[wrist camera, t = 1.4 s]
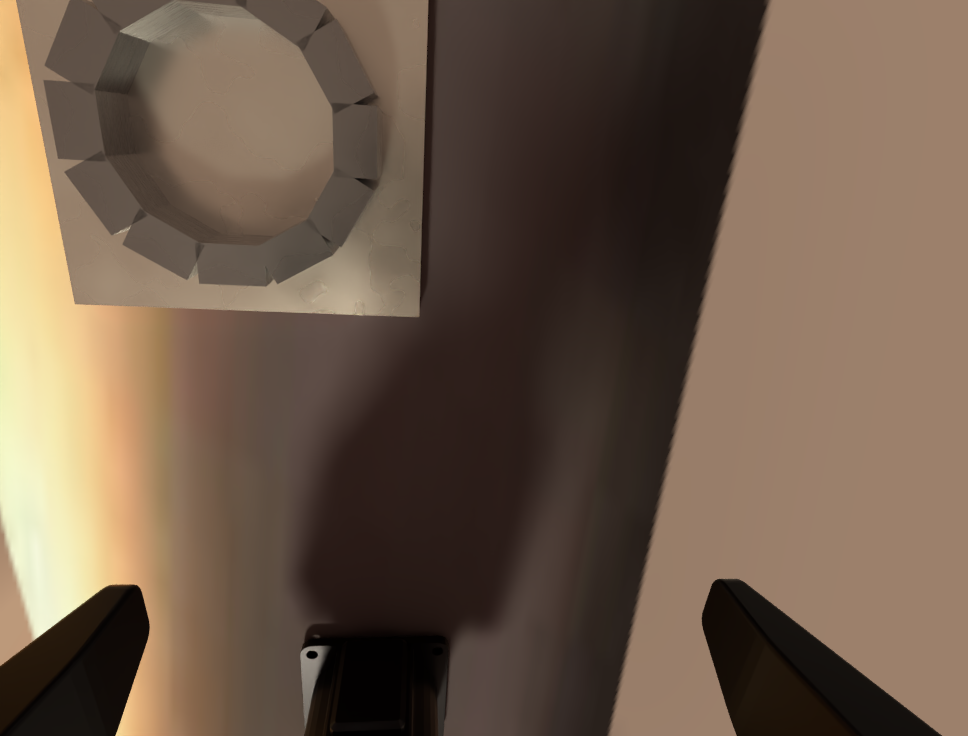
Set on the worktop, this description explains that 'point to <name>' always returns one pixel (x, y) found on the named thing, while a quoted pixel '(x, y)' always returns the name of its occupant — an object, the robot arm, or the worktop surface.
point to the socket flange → (235, 150)
